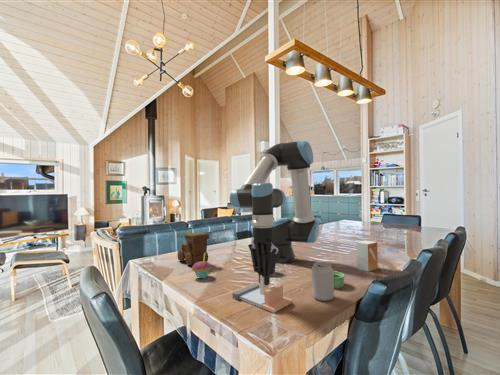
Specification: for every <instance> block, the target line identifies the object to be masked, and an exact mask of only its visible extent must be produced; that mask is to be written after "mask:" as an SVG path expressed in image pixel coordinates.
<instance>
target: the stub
mask: <svg viewBox="0 0 500 375" xmlns="http://www.w3.org/2000/svg"><path fill="white" fill-rule="evenodd" d="M264 297H265V304H263V305H262V308H261V309H263V310H265V311H269V312H270V313H273V314H276V313H277V312H278V311H280V310H281V309H284V308H285V307H287V306H288V305H291V304H292V303H293V299H292V298H289V297H286V296H284V285H283V284H280V283H277V284H276V285H274V286H271V287H268V289H267V290H265V291H264Z"/></svg>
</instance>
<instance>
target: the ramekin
mask: <svg viewBox="0 0 500 375" xmlns="http://www.w3.org/2000/svg"><path fill="white" fill-rule="evenodd" d="M333 276H334V289H340V288H341V289H342V288H343V287H344V283H345V276H346V275H345V274H344V273H343V272H340V271H336V270H333Z"/></svg>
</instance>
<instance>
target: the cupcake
mask: <svg viewBox="0 0 500 375" xmlns="http://www.w3.org/2000/svg"><path fill="white" fill-rule="evenodd" d="M211 269H212V264H210V263H209V262H208V261H207V262H206V261H205V253H204V258H203V261H200V262H196V263H193V264H192V265H191V270H192V272H194V273H195V276H197V277H199V278H204V279H206V278H208V275H209V273H210V270H211ZM197 277H196V278H197ZM205 277H206V278H205Z"/></svg>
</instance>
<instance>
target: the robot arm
mask: <svg viewBox="0 0 500 375" xmlns="http://www.w3.org/2000/svg"><path fill="white" fill-rule="evenodd" d="M313 163H314V152H313V148H312V146H311V143H309V141H306V140H301V141H300V140H298V141H290V142H284V143H282V142H281V143H277V144H275V145H272V146H271V147H269V148H268V149H267V150H265V151H264V152H263V154H262V155H261V156H260V157H259V162H258V164H257V165H256V166H255V168H254V169H253V170H252V172H251V173H250V175H249V176H248V178H247V179H246V180H245V182H244V183H243V185H242V186H241V187H240V188H239V189H237V188H236V189H233V190H231V191H230V193H229V202H230V205H231V206H232V207H234V208H249V209H250V208H251V209H252V210H251V211H252V212H251V217H252V219H251V220H252V222H251V223H252V226H253V227H252V238H253V242H252V243H250V244H248V248H249V251H250V255H251V256H250V257H251V262H252V266H253V271H254V273H257V274H258V283H259V287H260V294H262V295H264V291H265V290H267V289H269V285H270V278H271V276H273V275H275V274H274V271H275V272H276V264H277V263H278V264H287V263H293V262H295V261H296V255H295V253H294V250H293V246H292V245H293V244H292V243H305V244H314V243H316V242H317V240H318V236H319V231H320V230H319V229H320V223H319V221H318V220H316V217H315V216H314V215H313V214H312V206H311V195H310V194H311V192H310V183H309V182H310V181H309V169H310V168H311V165H312V164H313ZM281 166H282V167H283V166H286V168H287V170H288V171H289V173H290V176H291V177H290V178H291V186H292V197H293V206H294V215H295V216H293V217H292V218H291V217H281V218H275V219H274V208H275V209H276V208H277V209H278V208H280V207H282V206H283V205H284V204H285V202H286V194H285V192H284V191H283V190H282V189H280V188H277V187H276V188H274V187H273V184H272V183H271V182H266V181H267V180H268V178H269V177H270V175H271V173H272V172H273V171H274V170H276V169H277V168H278V167H281ZM272 274H273V275H272Z"/></svg>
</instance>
